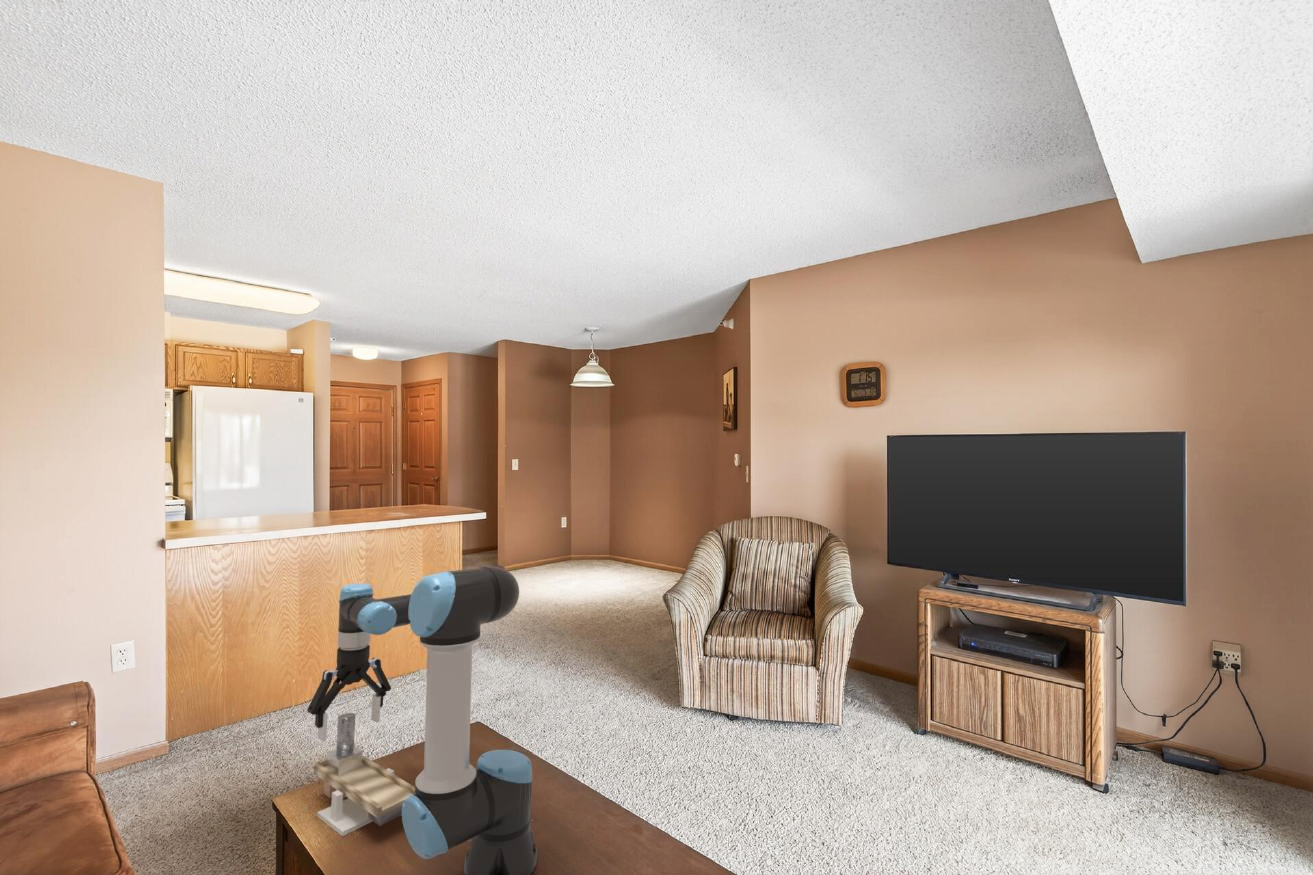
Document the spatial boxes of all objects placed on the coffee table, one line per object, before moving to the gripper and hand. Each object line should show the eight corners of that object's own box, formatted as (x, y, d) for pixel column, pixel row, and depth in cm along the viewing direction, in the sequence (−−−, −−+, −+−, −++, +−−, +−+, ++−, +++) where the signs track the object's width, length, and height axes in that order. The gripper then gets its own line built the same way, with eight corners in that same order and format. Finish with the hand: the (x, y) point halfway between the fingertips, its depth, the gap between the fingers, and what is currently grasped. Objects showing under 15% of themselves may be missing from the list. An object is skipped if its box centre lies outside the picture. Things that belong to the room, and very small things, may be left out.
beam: (418, 807, 142) (419, 786, 142) (375, 829, 133) (376, 806, 134) (353, 766, 160) (354, 747, 160) (312, 783, 151) (313, 763, 151)
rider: (361, 766, 153) (364, 715, 153) (338, 776, 148) (340, 723, 149) (349, 759, 156) (352, 709, 157) (326, 768, 152) (329, 716, 152)
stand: (406, 804, 149) (407, 776, 150) (342, 836, 136) (343, 805, 137) (363, 776, 161) (365, 750, 162) (300, 803, 148) (302, 774, 149)
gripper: (391, 632, 165) (387, 709, 164) (294, 654, 144) (290, 743, 144) (406, 637, 160) (403, 717, 160) (309, 661, 140) (304, 753, 139)
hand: (349, 729), depth 152 cm, fingers open, 13 cm apart
